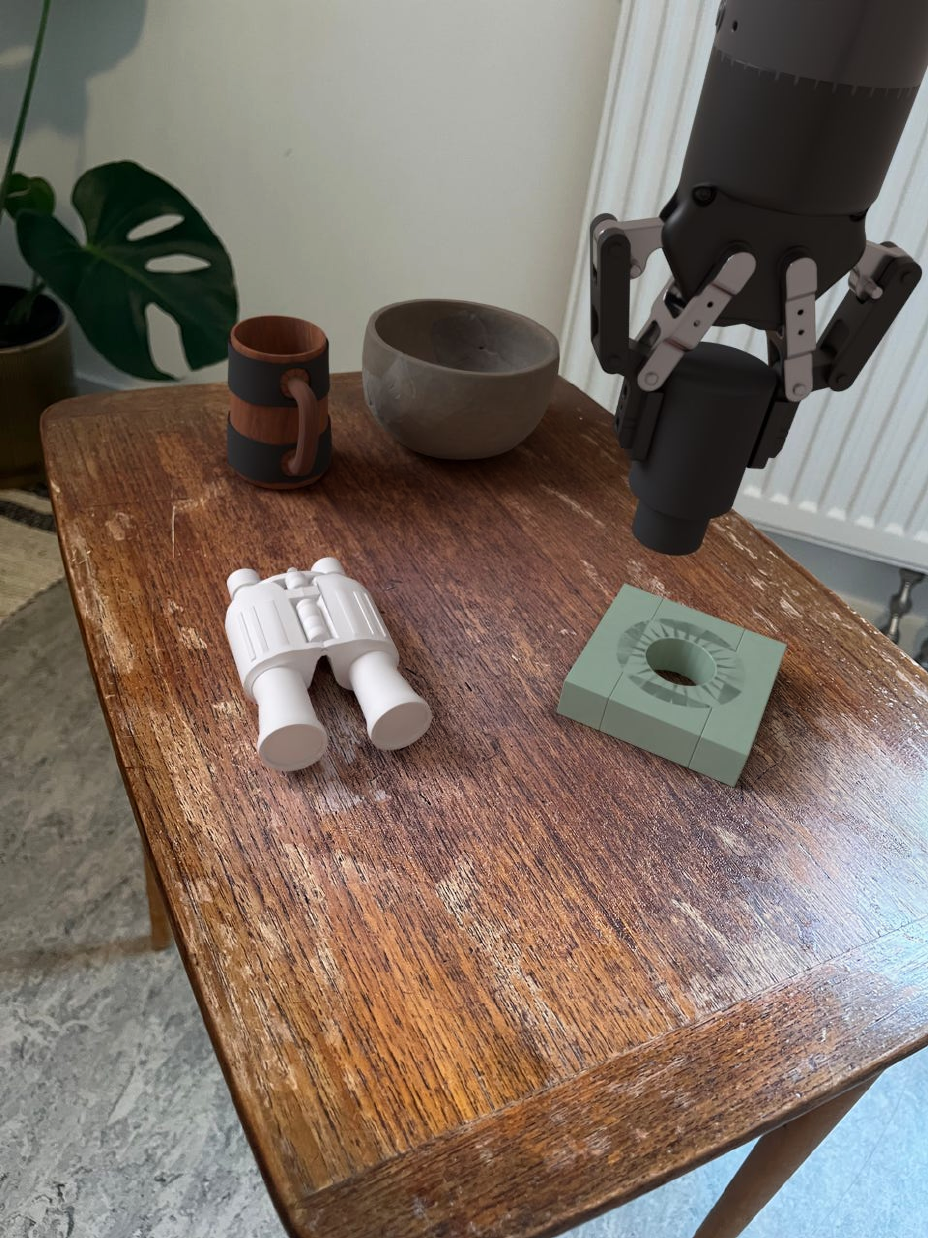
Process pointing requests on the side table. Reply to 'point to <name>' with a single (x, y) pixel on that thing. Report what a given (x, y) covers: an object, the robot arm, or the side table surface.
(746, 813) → the side table surface
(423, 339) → the bowl
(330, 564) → the binoculars
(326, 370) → the mug
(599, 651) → the green block with hole
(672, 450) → the stopper
